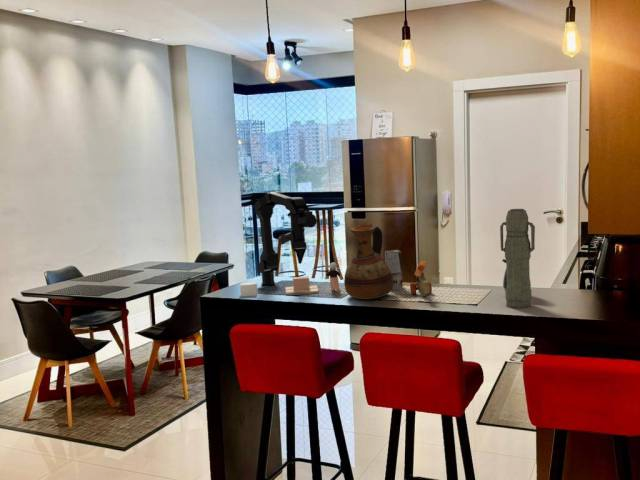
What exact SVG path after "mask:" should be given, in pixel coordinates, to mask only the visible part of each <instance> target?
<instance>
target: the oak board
mask: <svg viewBox="0 0 640 480" xmlns="http://www.w3.org/2000/svg"><path fill="white" fill-rule="evenodd" d="M309 285H310V284H309ZM313 293H315V294H319V287H318V285H317V284H311V285H310V289H308V290H294V288H293V285H292V286H285V296H298V295H299V296H302V295H312V294H313ZM313 295H314V294H313Z"/></svg>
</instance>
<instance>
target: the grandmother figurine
mask: <svg viewBox="0 0 640 480" xmlns="http://www.w3.org/2000/svg"><path fill="white" fill-rule="evenodd" d="M328 268H329V269H330V270H329V271H328V272H326V274H325V277H324V279H325V280H328V278H329V277H330V278H329V283H330V284H329V286H330V293H334V292H336V293H338V292H339V293H340V292H341V291H342V290H341V289H340V282H339V279H340V280H343V277H342V275H341V273H340V271H338V270H337V262H334V261H333V262H330V264H329V267H328Z"/></svg>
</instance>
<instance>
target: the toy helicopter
mask: <svg viewBox="0 0 640 480" xmlns="http://www.w3.org/2000/svg"><path fill="white" fill-rule="evenodd" d="M427 264H428V262H427V261H426V260H421V261H420V262H419V264H418V266H417V267H416V269H415V272H414V276H416V278H415V280H416V281H415V282H410V283H409V284H410V285H409V286H410V287H409V289H410V294H411V296H413V295H416V294H417V291H418V292H419V295H420V297H422V298H424V297H425V298H426V296H427V294H432V292H433V290H432V289H433V288H432V282H431V281H428V280H426V276H425V272H426V265H427Z"/></svg>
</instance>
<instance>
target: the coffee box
mask: <svg viewBox="0 0 640 480" xmlns="http://www.w3.org/2000/svg"><path fill="white" fill-rule="evenodd" d="M402 257H403V256H402V251H401V250H400V249H390V250H385V251H384V258H385V259H384V261H385V262H386V264H387V265H388V267H389V269H390V271H391V273H392V276H393V289H392V291H399V290H402V291H403V289H404V287H403V285H404V284H403V262H402V261H403V259H402Z"/></svg>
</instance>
